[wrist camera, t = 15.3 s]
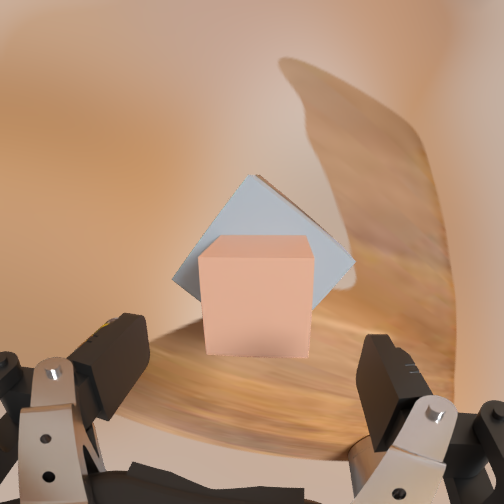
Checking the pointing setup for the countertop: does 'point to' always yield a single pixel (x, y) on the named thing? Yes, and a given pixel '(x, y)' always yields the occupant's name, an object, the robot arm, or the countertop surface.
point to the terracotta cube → (257, 295)
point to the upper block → (269, 223)
